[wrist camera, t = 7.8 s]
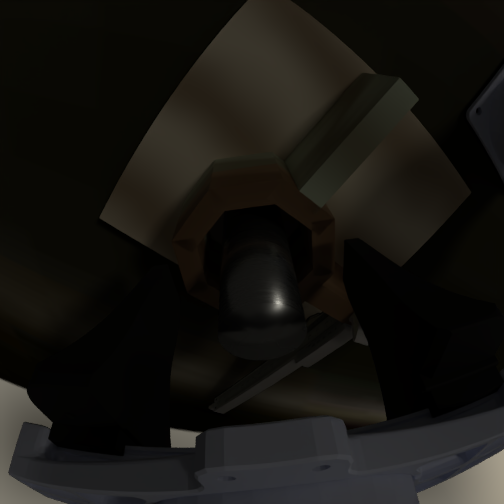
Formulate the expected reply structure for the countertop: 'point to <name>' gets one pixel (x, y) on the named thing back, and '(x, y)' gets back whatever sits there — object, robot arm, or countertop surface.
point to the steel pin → (258, 286)
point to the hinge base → (285, 157)
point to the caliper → (293, 358)
